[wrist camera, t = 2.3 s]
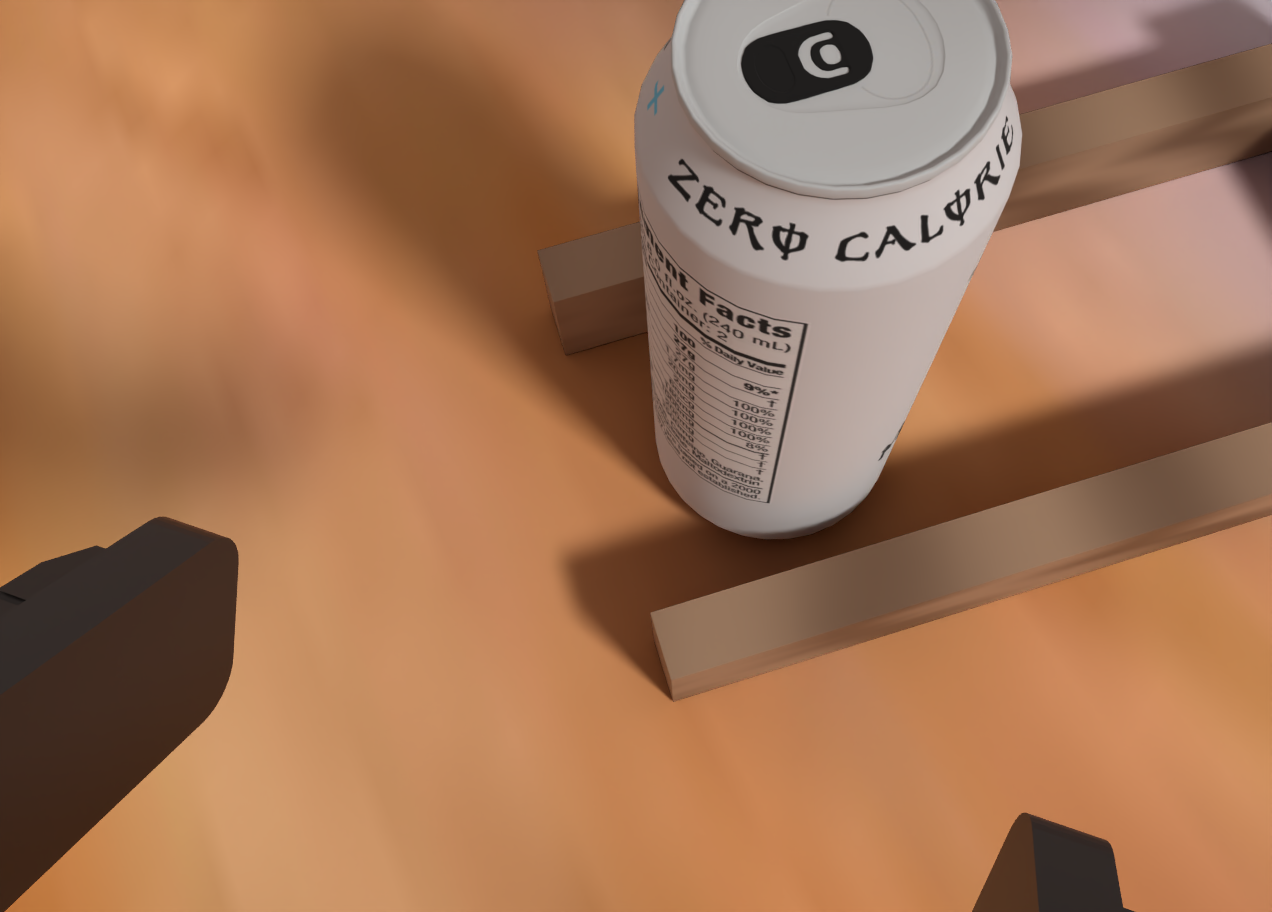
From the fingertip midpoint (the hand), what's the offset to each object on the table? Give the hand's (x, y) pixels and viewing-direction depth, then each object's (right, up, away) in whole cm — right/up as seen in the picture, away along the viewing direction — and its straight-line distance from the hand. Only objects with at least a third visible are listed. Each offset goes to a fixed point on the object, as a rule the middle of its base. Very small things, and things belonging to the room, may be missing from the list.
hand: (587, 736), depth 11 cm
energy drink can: (+4, +3, +19) cm, 20 cm away
